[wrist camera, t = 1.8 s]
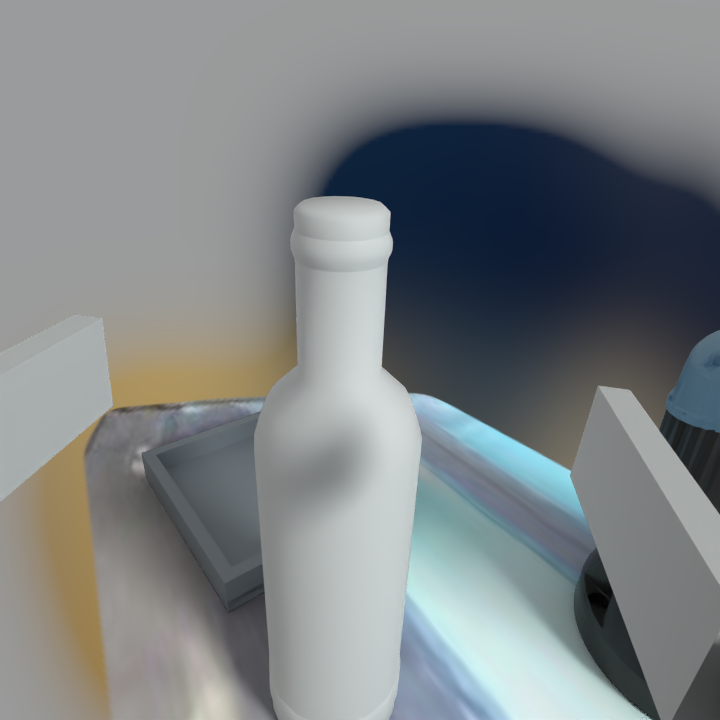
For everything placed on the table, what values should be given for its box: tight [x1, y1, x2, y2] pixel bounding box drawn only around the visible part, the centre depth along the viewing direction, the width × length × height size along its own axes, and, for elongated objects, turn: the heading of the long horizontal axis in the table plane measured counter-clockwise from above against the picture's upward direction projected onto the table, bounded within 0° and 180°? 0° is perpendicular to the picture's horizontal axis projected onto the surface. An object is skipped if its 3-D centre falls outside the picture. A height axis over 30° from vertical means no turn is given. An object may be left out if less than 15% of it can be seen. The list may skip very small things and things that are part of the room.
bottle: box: [254, 196, 422, 720], centre depth 26 cm, size 8×8×30 cm
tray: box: [142, 412, 265, 612], centre depth 48 cm, size 18×18×3 cm
